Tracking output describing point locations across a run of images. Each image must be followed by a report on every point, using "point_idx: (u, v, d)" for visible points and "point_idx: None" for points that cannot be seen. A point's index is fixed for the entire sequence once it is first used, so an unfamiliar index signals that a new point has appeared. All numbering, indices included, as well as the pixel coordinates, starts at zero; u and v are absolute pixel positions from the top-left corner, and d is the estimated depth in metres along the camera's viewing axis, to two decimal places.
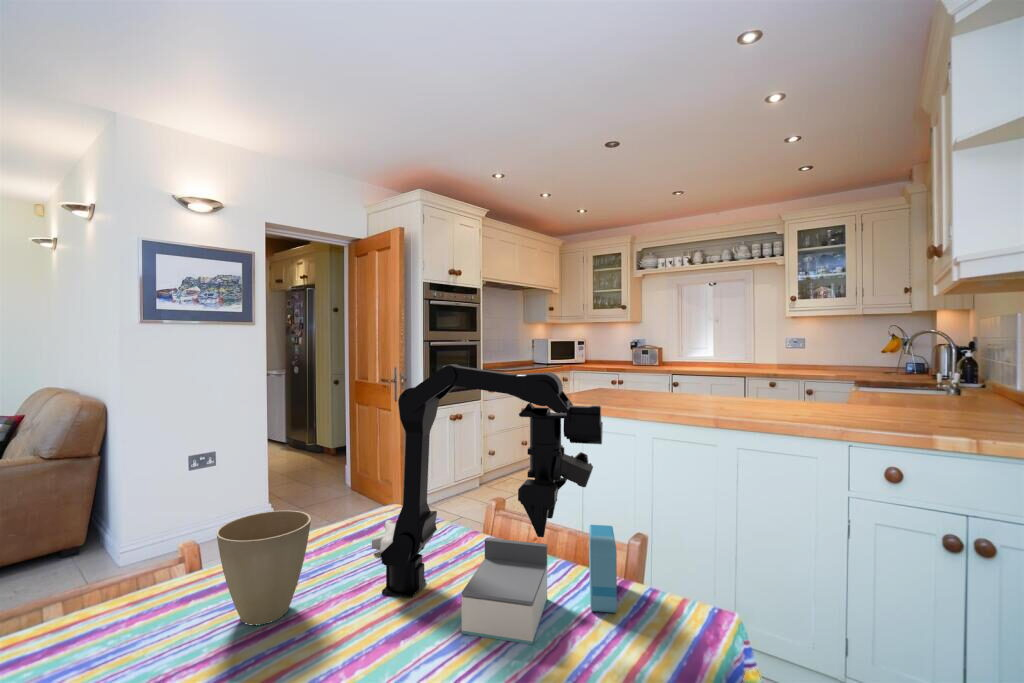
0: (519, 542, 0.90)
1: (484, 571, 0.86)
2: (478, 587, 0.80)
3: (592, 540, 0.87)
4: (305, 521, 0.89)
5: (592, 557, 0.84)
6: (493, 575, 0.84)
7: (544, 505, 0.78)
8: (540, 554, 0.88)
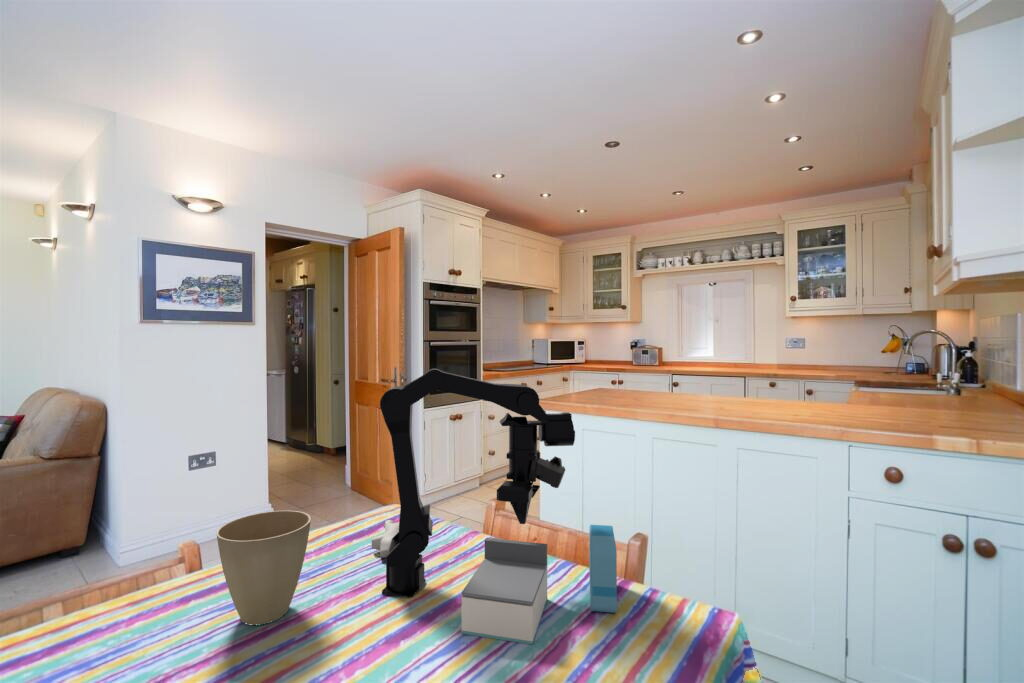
0: (519, 542, 0.90)
1: (484, 571, 0.86)
2: (478, 587, 0.80)
3: (592, 540, 0.87)
4: (305, 521, 0.89)
5: (592, 557, 0.84)
6: (493, 575, 0.84)
7: None
8: (540, 554, 0.88)
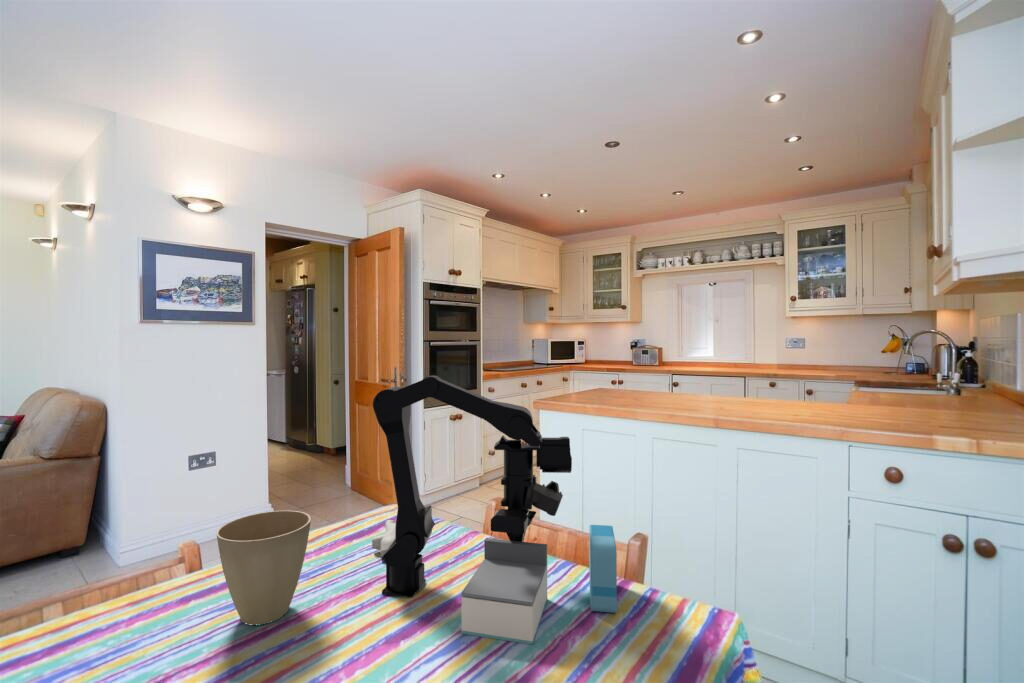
0: (519, 542, 0.90)
1: (484, 571, 0.85)
2: (478, 587, 0.80)
3: (592, 540, 0.87)
4: (305, 521, 0.89)
5: (592, 557, 0.84)
6: (493, 576, 0.84)
7: None
8: (540, 555, 0.88)
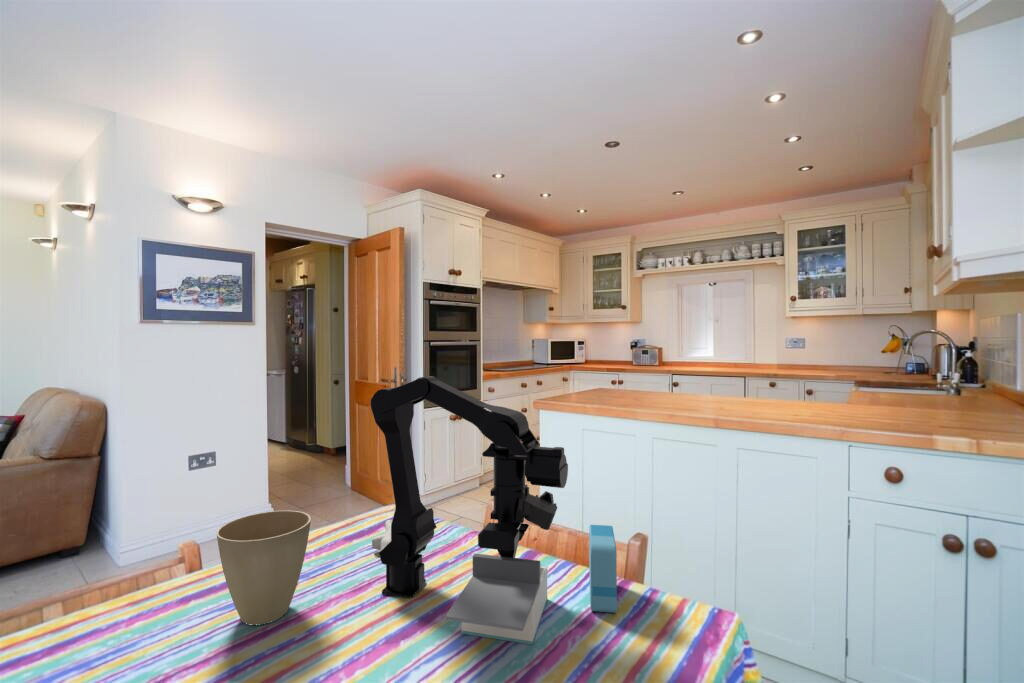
0: (510, 558, 0.83)
1: (471, 591, 0.79)
2: (464, 610, 0.73)
3: (592, 540, 0.87)
4: (305, 521, 0.89)
5: (592, 557, 0.84)
6: (481, 596, 0.77)
7: None
8: (532, 572, 0.81)
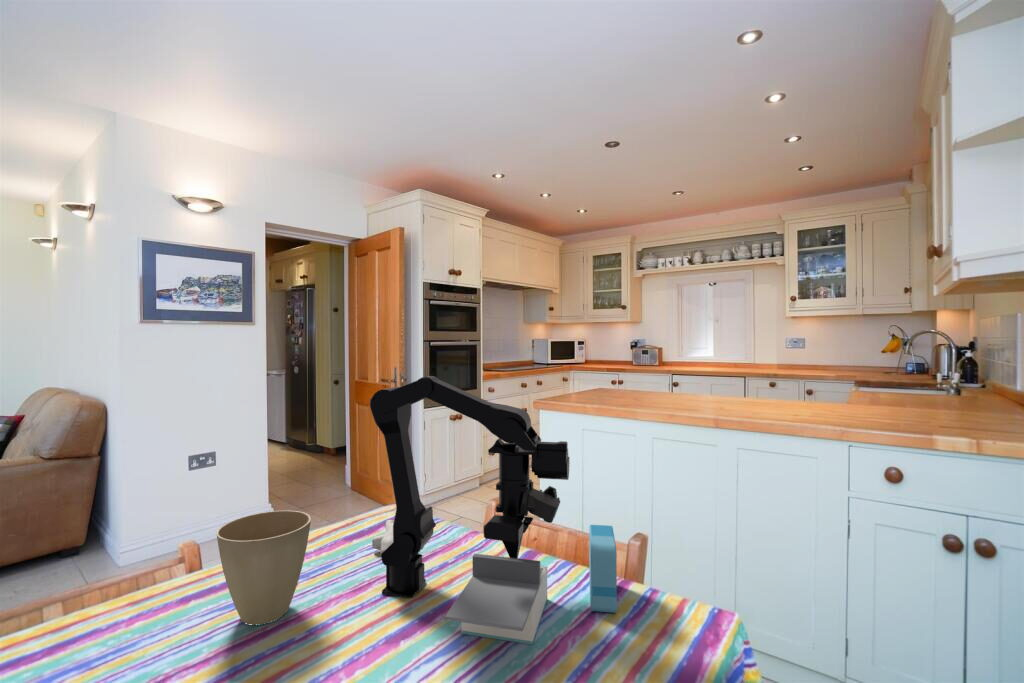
0: (510, 559, 0.83)
1: (471, 591, 0.79)
2: (463, 610, 0.73)
3: (592, 540, 0.87)
4: (305, 521, 0.89)
5: (592, 557, 0.84)
6: (481, 596, 0.77)
7: None
8: (532, 572, 0.81)
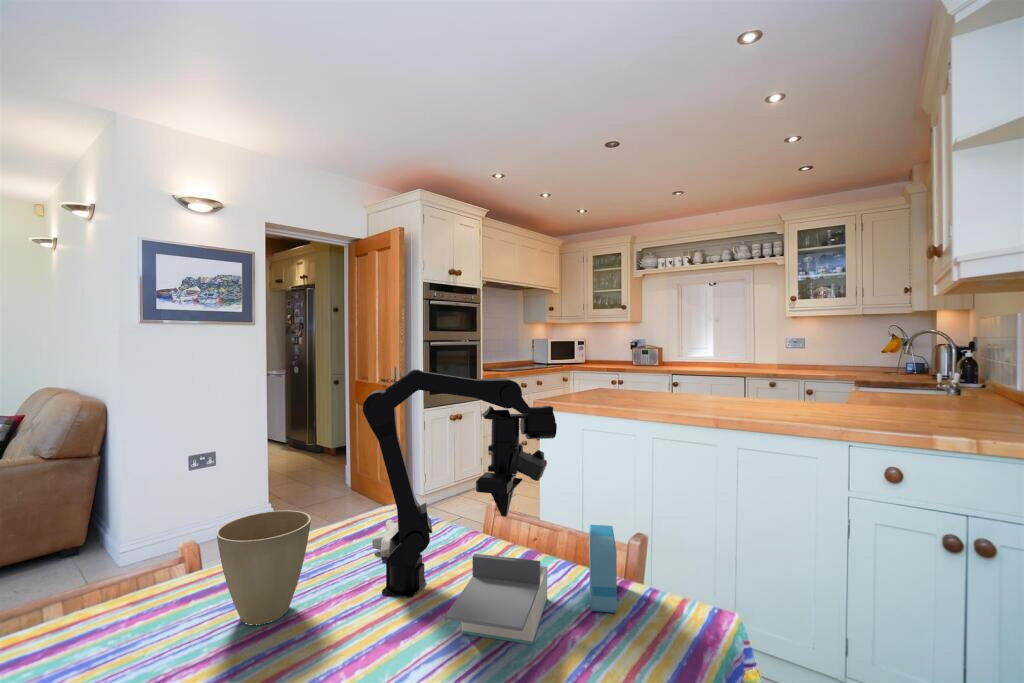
0: (510, 559, 0.83)
1: (471, 591, 0.79)
2: (463, 610, 0.73)
3: (592, 540, 0.87)
4: (305, 521, 0.89)
5: (592, 557, 0.84)
6: (481, 596, 0.77)
7: None
8: (532, 572, 0.81)
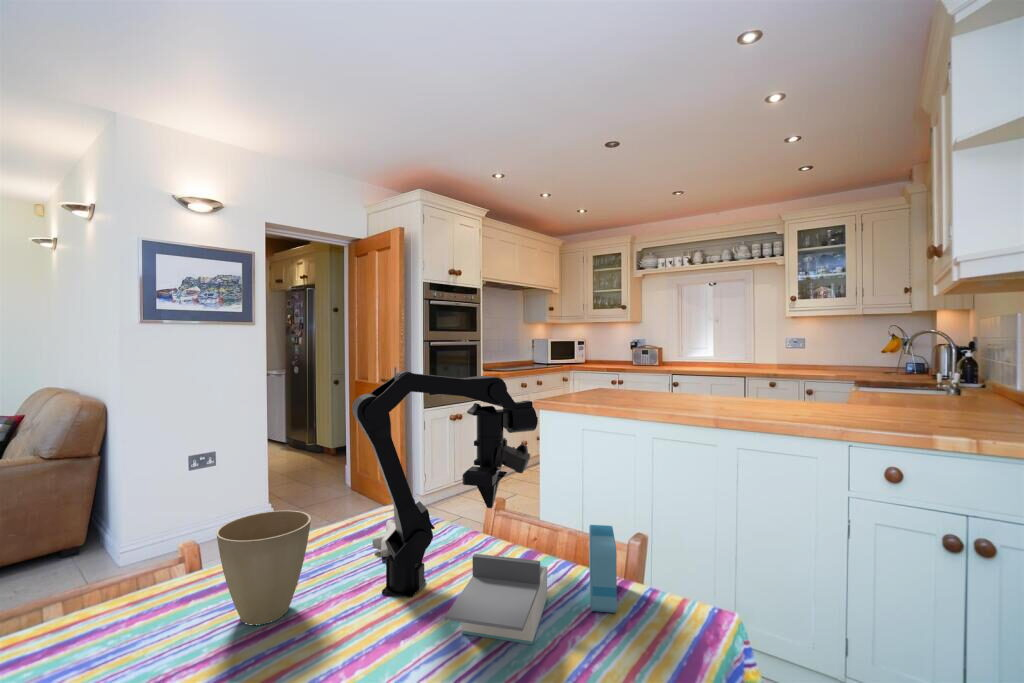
0: (510, 559, 0.83)
1: (471, 591, 0.79)
2: (463, 610, 0.73)
3: (592, 540, 0.87)
4: (305, 521, 0.89)
5: (592, 557, 0.84)
6: (481, 596, 0.77)
7: None
8: (532, 572, 0.81)
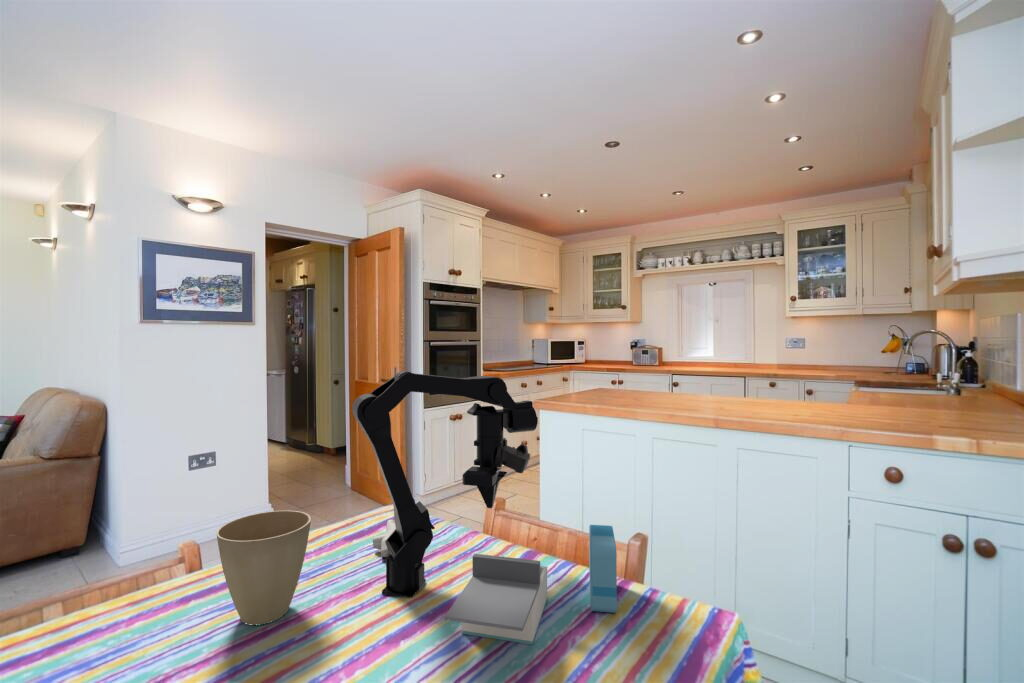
0: (510, 559, 0.83)
1: (471, 591, 0.79)
2: (463, 610, 0.73)
3: (592, 540, 0.87)
4: (305, 521, 0.89)
5: (592, 557, 0.84)
6: (481, 596, 0.77)
7: None
8: (532, 572, 0.81)
